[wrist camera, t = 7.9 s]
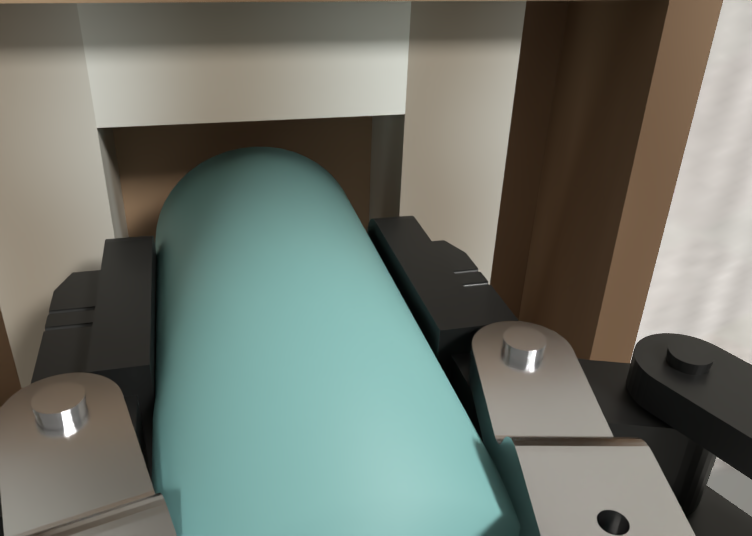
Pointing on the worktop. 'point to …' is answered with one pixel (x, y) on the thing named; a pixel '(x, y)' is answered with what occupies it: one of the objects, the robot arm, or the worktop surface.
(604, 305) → the box
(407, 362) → the peg
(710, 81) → the worktop surface
